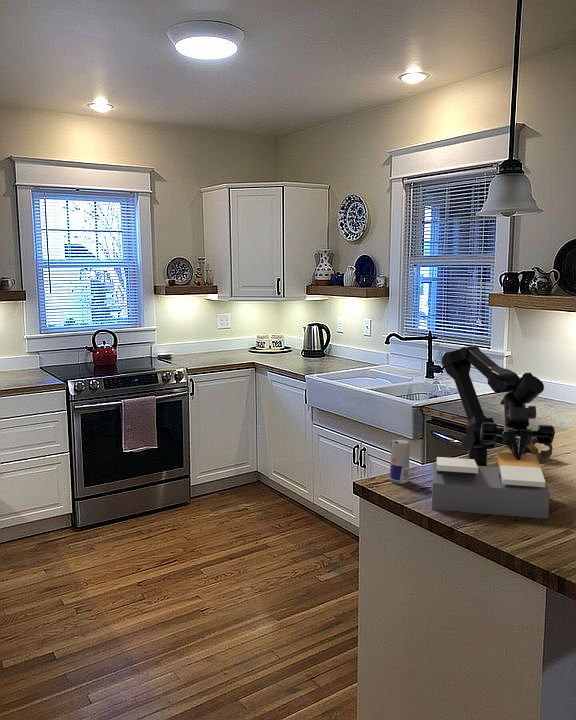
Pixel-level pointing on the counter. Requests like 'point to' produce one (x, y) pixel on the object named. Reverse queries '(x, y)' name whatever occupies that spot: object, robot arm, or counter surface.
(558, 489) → the counter surface
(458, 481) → the switch strip
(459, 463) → the rocker plain
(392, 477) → the energy drink
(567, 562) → the counter surface
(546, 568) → the counter surface
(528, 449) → the brown chain link decor
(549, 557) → the counter surface
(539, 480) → the orange and white panel
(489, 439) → the robot arm
